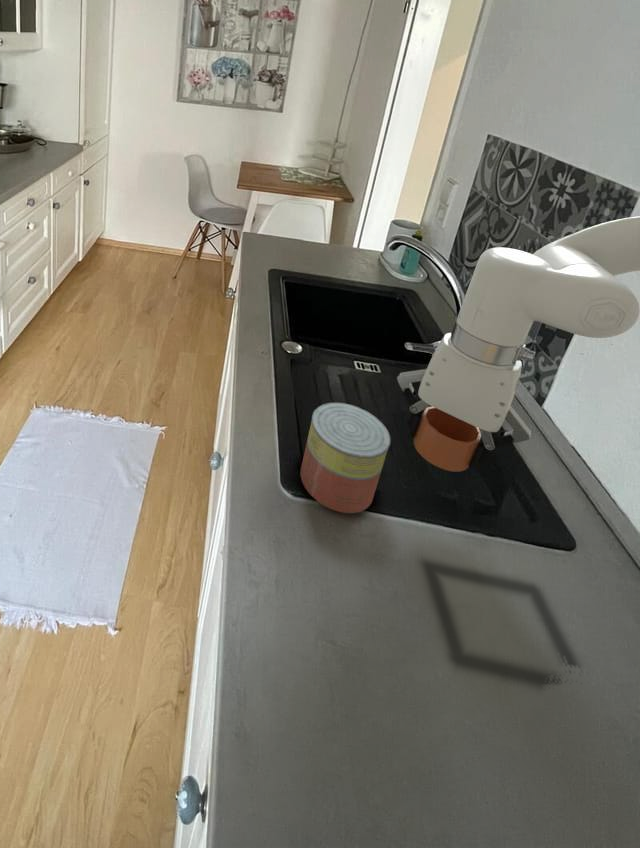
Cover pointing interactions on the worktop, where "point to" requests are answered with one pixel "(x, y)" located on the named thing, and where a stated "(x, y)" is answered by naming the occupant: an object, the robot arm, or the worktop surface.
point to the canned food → (344, 457)
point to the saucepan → (446, 440)
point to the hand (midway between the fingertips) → (442, 446)
